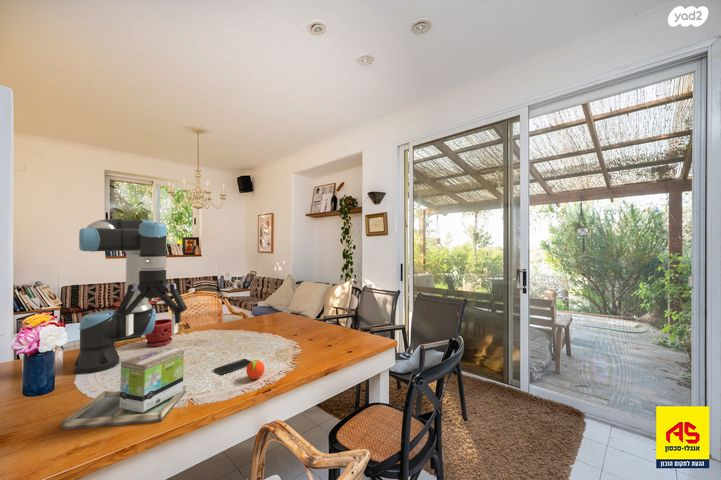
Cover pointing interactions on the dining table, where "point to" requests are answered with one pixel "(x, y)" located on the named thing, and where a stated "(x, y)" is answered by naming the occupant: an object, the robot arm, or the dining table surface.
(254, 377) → the clementine
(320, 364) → the dining table surface
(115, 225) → the robot arm
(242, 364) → the phone
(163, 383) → the tea box
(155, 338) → the plant pot
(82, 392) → the dining table surface
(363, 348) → the dining table surface
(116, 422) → the organiser
